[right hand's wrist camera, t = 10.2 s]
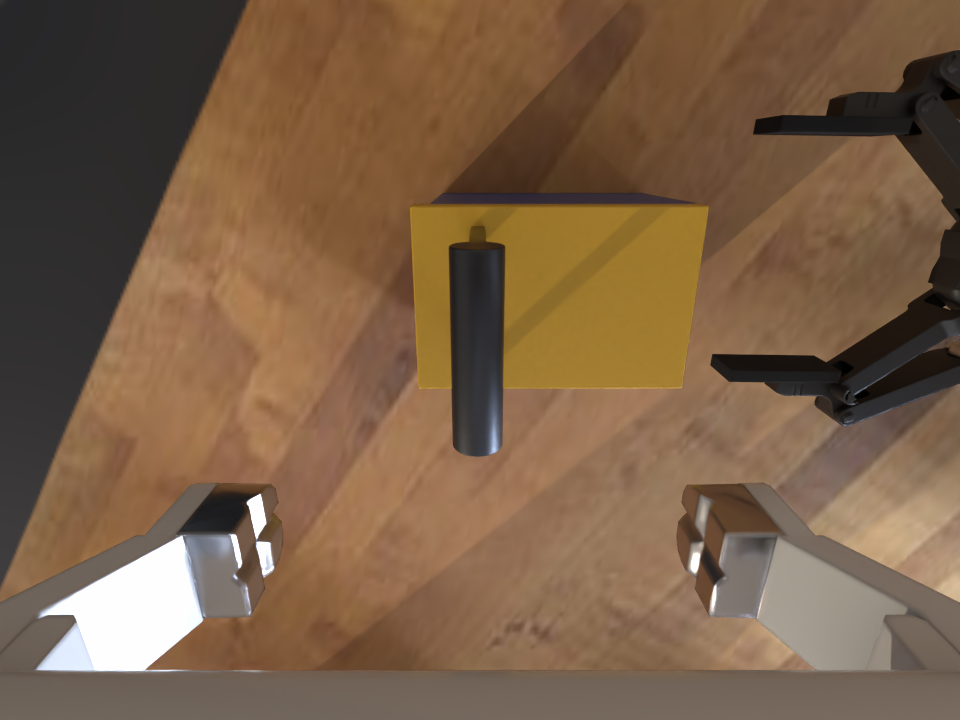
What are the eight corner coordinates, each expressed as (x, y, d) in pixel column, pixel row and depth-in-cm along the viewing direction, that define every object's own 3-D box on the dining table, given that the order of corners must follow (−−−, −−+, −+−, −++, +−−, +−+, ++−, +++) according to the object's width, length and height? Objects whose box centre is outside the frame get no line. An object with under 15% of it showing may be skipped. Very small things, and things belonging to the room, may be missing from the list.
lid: (420, 379, 29) (394, 474, 20) (413, 203, 25) (377, 225, 17) (674, 379, 29) (758, 474, 20) (699, 203, 25) (814, 225, 17)
